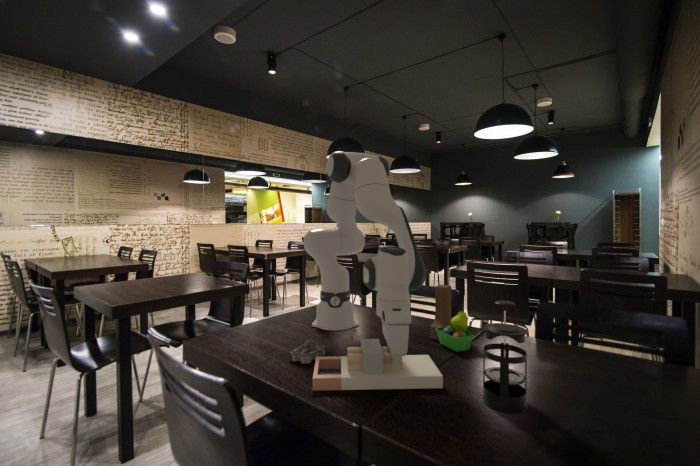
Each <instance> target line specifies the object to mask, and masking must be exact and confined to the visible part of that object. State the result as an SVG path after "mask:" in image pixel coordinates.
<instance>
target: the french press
mask: <svg viewBox="0 0 700 466" xmlns="http://www.w3.org/2000/svg"><path fill="white" fill-rule="evenodd" d="M494 304H495V305H498V306H502V311H503V323H500V322H499V323H498V322H496V323H495V322H494V323H493V322H492V323H491V322H490V323H486V324H484V325H483V330H484V331H485V338H486V339H488V340H493V339H495V338H497V337H501V336H503V342H500V343H488V344H485V345H484V346H483V347H482V348H483V349H482V350H483V351H482V352H483V359H482V360H483V362H482V366H483V367H482V371H483V372H482V377H483V378H482V383H483V384H482V396H481V400H482V403H483V404H484V405H485V406H487V407H488V408H490V409H491V410H494V411H497V412H499V413H504V414H510V415H512V414H513V415H514V414H515V415H516V414H517V415H518V414H522V413H525V412H526V411H527V410H528V407H529V406H528V403H527V399H528V398H527V392H528V391H527V390H528V389H527V387H528V384H527V380H528V377H527V373H528V372H527V371H528V368H527V367H528V364H527V363H528V352H527V351H526V350H525V349H524V348H522V347H519V346H516V345H513V344H510V343H508V342H506V341H507V340H506V337H508V338H511V339H513V340H514V341H515V342H517V343H518V344H523V343H525V342H526V340H525V339H526V335H527V334H528V330H527V329H526V328H524V327H521V326H519V325H516V324H510V323H507V320H506V319H507V315H506V313H507V311H508V307H512V306H515V305H516V303H515V302H513V301H510V300H496V301H495V302H494ZM490 350H500V355H497V354H494V353H491V352H489V351H490ZM510 352H514V353H517V354H520V355H521V356H518V357H510ZM485 359H488V360H491V361H494V362H497V363H499V366H495V367H494V366H491V367H488V368H486V367H485V366H486V365H485V364H486V360H485ZM523 363H524V368H525V370H524V374H523V373H522V372H520V371H519V370H518V371H517V370H515V369H511V368H510V365H516V364H517V365H518V364H523ZM485 368H486V369H485ZM485 377H486V379H488V380H485ZM523 384H524V386H522V385H523Z"/></svg>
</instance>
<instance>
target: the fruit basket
mask: <svg viewBox="0 0 700 466" xmlns="http://www.w3.org/2000/svg"><path fill="white" fill-rule="evenodd" d="M468 320H469V317H468V315H467V313H466V312H463V311H459V312H458V313H457V314H456V315H454V316H453V317H451V326H446V327H439V328H436V331H437V334H438V338H439V340H438V341H439V344H440V345H442V346H444V347H446V348H448V349H450V350H451V351H454V352H456V353H457V352H458V353H459V352H464V351H470V348H471V345H472V342H473V339H474V337H475V335H474V334H473V333H471V332H469V331H467V329H468V322H469V321H468Z"/></svg>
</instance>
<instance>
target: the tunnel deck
mask: <svg viewBox="0 0 700 466" xmlns="http://www.w3.org/2000/svg"><path fill="white" fill-rule="evenodd" d="M360 347H362V352H363V371H348V362H347V355H342V356H341V355H340V356H339V355H338V356H337V355H334V356H329V355H328V356H326V355H324V356H318V357H316V360H315V363H314V368H313V373H312V392H314V391H317V392H318V391H358V390H359V391H361V390H370V391H371V390H410V389H419V390H420V389H444V376H443V374H442V373H441V371H440V369H439V368H438V366H437V365H436V364H435V362H434V361H433V359H432V358H431V357H430V355H429V354H406V356H402V370H383V350H382V348H381V347H382V345H381V341H380V340H379V338H360Z"/></svg>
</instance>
